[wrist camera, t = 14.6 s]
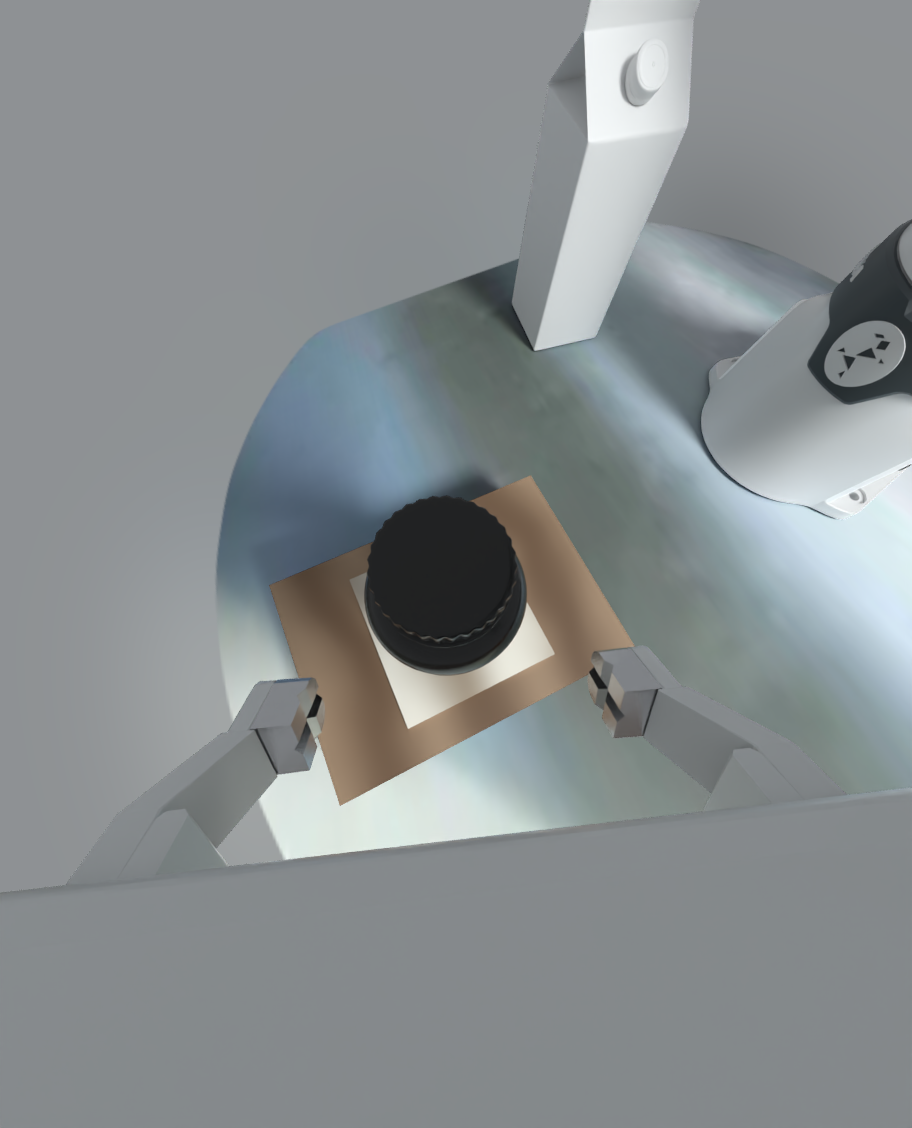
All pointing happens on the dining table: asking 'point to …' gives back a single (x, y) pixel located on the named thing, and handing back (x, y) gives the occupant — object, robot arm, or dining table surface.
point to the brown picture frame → (432, 702)
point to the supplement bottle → (444, 586)
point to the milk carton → (601, 162)
